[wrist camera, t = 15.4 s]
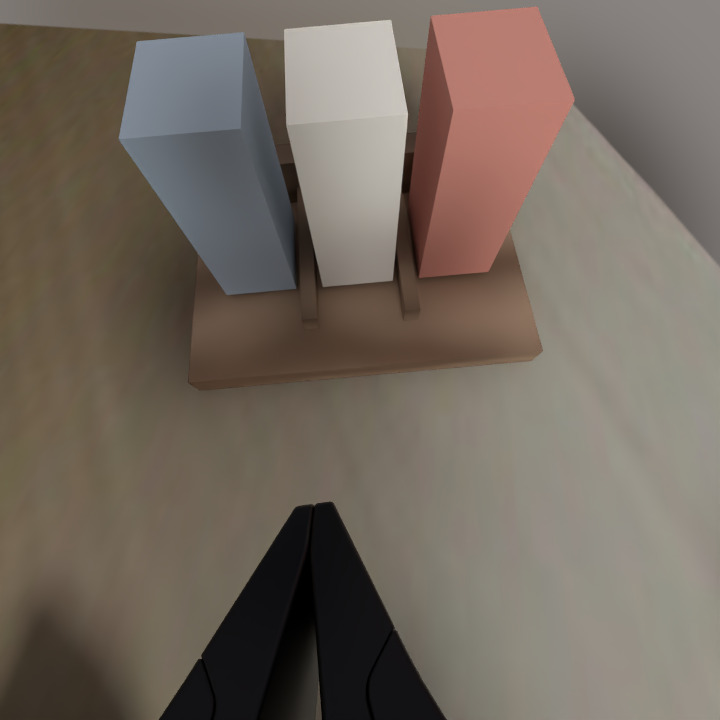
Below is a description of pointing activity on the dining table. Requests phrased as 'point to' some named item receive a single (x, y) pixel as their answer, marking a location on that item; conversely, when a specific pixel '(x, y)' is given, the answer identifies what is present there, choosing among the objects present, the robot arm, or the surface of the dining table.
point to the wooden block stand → (359, 315)
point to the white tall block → (348, 144)
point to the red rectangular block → (481, 134)
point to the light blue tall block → (213, 157)
